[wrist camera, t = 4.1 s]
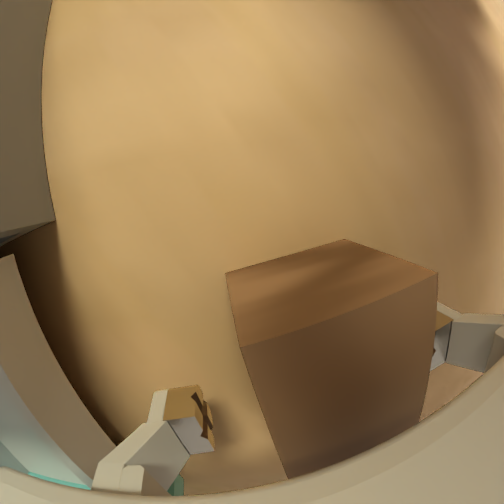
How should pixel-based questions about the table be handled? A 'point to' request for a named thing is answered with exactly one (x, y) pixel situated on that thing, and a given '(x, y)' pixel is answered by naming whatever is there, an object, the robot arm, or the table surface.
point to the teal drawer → (43, 401)
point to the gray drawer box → (22, 119)
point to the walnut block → (335, 348)
